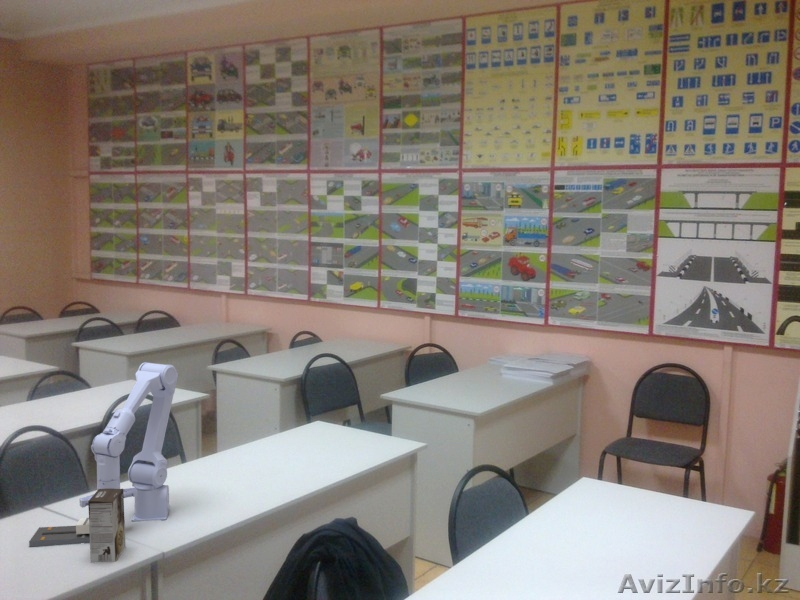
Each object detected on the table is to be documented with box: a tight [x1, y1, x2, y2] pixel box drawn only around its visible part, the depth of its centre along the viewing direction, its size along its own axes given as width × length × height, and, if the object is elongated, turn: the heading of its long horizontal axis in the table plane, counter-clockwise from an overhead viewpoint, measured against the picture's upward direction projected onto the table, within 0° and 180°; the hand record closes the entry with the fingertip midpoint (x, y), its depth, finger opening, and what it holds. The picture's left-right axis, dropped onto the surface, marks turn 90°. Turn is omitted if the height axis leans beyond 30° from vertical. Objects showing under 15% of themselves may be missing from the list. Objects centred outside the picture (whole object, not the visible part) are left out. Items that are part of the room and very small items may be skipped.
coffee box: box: [87, 488, 126, 564], centre depth 190 cm, size 9×6×16 cm
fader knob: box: [75, 517, 90, 534], centre depth 202 cm, size 4×5×2 cm
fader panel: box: [28, 525, 90, 548], centre depth 201 cm, size 16×9×2 cm, turn 100°
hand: (109, 527), depth 203 cm, fingers closed
